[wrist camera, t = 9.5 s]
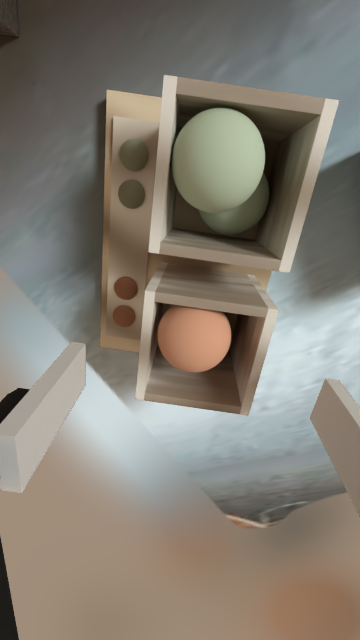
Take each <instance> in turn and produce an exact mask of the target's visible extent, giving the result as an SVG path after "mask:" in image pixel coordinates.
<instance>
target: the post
mask: <svg viewBox="0 0 360 640" xmlns="http://www.w3.org/2000/svg"><path fill="white" fill-rule="evenodd" d="M0 34H1V35H8V36H15V37H19V33H18V18H17V3H16V0H0Z"/></svg>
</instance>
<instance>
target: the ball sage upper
mask: <svg viewBox="0 0 360 640" xmlns="http://www.w3.org/2000/svg"><path fill="white" fill-rule="evenodd" d="M264 164H265V150H264V144H263V140H262V137H261V135H260V132H259V130H258V129H257V127H256V126H255V124H254V123H253V122H252V121H251V120H250V119H249V118H248V117H247V116H246V115H244V114H243V113H241V112H239V111H237V110H234V109H231V108H226V107H216V108H211V109H207V110H205V111H202V112H200V113H199V114H197V115H196V116H194V117H193V118H192V119H190V120H189V121H188V122H187V123H186V125H185V126H184V127H183V128H182V130H181V131H180V133H179V135H178V137H177V139H176V141H175V144H174V147H173V151H172V159H171V168H172V175H173V179H174V182H175V185H176V187H177V189H178V191H179V193H180V194H181V195H182V197H183V198H184V199H185V200H186V201H187V202H188V203H189V204H190V205H192V206H193V207H195V208H197V209H199V210H201V211H205V212H209V213H221V212H226V211H230V210H232V209H234V208H236V207H238V206H240V205H241V204H242V203H244V202H245V201H246V200H247V199H248V198H249V197H250V196H251V195H252V194H253V192H254V191H255V189H256V188H257V186H258V184H259V182H260V180H261V177H262V174H263V170H264Z"/></svg>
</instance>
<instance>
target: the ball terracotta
mask: <svg viewBox="0 0 360 640" xmlns="http://www.w3.org/2000/svg"><path fill="white" fill-rule="evenodd" d="M157 336H158V344H159V347H160V350H161V352H162V354H163V356H164V357H165V359H166V360H167V361H168V362H169V363H170V364H171V365H173V366H174V367H176V368H178V369H180V370H182V371H186V372H203V371H206V370H209V369H211V368H213V367H215V366H216V365H217V364H219V363H220V362H221V361H222V359H223V358H224V357H225V355H226V354H227V352H228V349H229V347H230V343H231V329H230V325H229V322H228V320H227V318H226V316H225V315H224V313H223V312H222V311H215V310H208V309H201V308H194V307H187V306H180V305H173V306H172V307H171V308H169V309H168V310H167V311H166V313H165V314H164V316H163V317H162V319H161V321H160V324H159V327H158V334H157Z"/></svg>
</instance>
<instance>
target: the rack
mask: <svg viewBox="0 0 360 640" xmlns="http://www.w3.org/2000/svg"><path fill="white" fill-rule="evenodd" d="M338 103H339V100H333V99H326V98H319V97H312V96H305V95H299V94H292V93H285V92H278V91H271V90H264V89H257V88H250V87H244V86H237V85H230V84H223V83H216V82H209V81H202V80H195V79H189V78H182V77H175V76H168V75H164V81H163V93H162V98H161V97H154V96H147V95H140V94H133V93H126V92H120V91H113V90H107V103H106V141H105V178H104V215H103V252H102V290H101V327H100V347H103V348H110V349H117V350H124V351H131V352H138V353H139V363H138V374H137V385H136V396H135V399H138V400H145V401H152V402H159V403H166V404H173V405H180V406H187V407H194V408H200V409H207V410H214V411H221V412H228V413H235V414H242V415H249V412H250V408H251V405H252V401H253V398H254V394H255V391H256V387H257V384H258V381H259V377H260V374H261V370H262V367H263V363H264V360H265V356H266V353H267V349H268V346H269V342H270V339H271V335H272V332H273V329H274V325H275V322H276V318H277V315H278V311H279V309H278V308H277V307H276V305H275V304H274V302H273V301H272V300H271V298H270V297H269V295H268V294H267V293H266V289H267V286H268V282H269V278H270V274H271V270H274V271H281V272H288V273H290V270H291V266H292V263H293V259H294V256H295V252H296V249H297V245H298V242H299V238H300V235H301V231H302V228H303V224H304V221H305V218H306V214H307V211H308V207H309V204H310V200H311V197H312V193H313V190H314V186H315V183H316V179H317V176H318V172H319V169H320V165H321V162H322V159H323V155H324V152H325V148H326V145H327V141H328V138H329V134H330V131H331V127H332V124H333V120H334V117H335V113H336V110H337V107H338ZM216 107H226V108H231V109H234V110H237V111H239V112H241V113H243V114H244V115H246V116H247V117H248V118H249V119H250V120H251V121H252V122H253V123H254V124H255V126H256V127H257V129H258V130H259V132H260V135H261V137H262V140H263V144H264V150H265V164H264V170H263V173H264V174H265V177H266V179H267V182H268V186H269V201H268V205H267V208H266V210H265V213H264V214H263V216H262V218H261V219H260V220H259V221H258V223H257V224H256V225H254V226H253V227H252V228H250V229H249V230H247V231H245V232H242V233H239V234H233V235H228V234H222V233H219V232H217V231H215V230H213V229H212V228H210V227H209V226H208V225H207V224H206V223H205V222H204V221H203V219H202V217H201V215H200V213H199V210H198V209H197V208H195V207H193V206H192V205H190V204H189V203H188V202H187V201H186V200H185V199H184V198H183V197H182V195H181V194H180V193H179V191H178V189H177V187H176V185H175V182H174V179H173V175H172V168H171V159H172V151H173V147H174V144H175V141H176V139H177V137H178V135H179V133H180V131H181V130H182V128H183V127H184V126H185V125H186V123H187V122H188V121H189V120H190V119H192V118H193V117H194V116H196V115H197V114H199V113H200V112H202V111H205V110H207V109H211V108H216ZM173 305H180V306H187V307H194V308H201V309H208V310H215V311H222V312H223V313H224V314H225V315H226V317H227V318H228V320H229V322H230V326H231V331H232V336H231V343H230V347H229V349H228V352H227V354H226V355H225V357H224V358H223V359H222V361H221V362H220V363H219V364H217V365H216V366H215V367H213V368H211V369H209V370H206V371H203V372H186V371H182V370H180V369H178V368H176V367H174V366H173V365H171V364H170V363H169V362H168V361H167V360H166V359H165V357H164V356H163V354H162V352H161V350H160V347H159V344H158V336H157V334H158V327H159V324H160V321H161V319H162V317H163V316H164V314H165V313H166V311H167V310H168V309H169V308H171V307H172V306H173Z"/></svg>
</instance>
